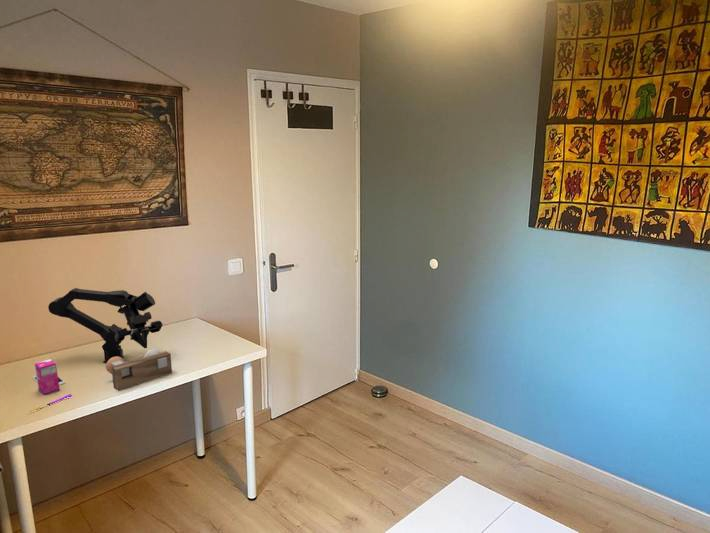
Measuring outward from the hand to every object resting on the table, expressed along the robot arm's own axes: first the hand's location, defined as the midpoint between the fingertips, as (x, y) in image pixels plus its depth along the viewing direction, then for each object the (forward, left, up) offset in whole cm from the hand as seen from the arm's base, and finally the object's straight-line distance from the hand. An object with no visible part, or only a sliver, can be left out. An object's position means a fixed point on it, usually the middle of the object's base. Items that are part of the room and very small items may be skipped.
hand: (146, 347), depth 212 cm
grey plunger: (+6, -6, -6) cm, 11 cm away
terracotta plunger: (-5, -14, -6) cm, 16 cm away
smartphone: (-35, -12, -10) cm, 38 cm away
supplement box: (-30, -20, -9) cm, 37 cm away
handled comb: (-23, -32, -10) cm, 40 cm away
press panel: (+3, -12, -9) cm, 15 cm away
